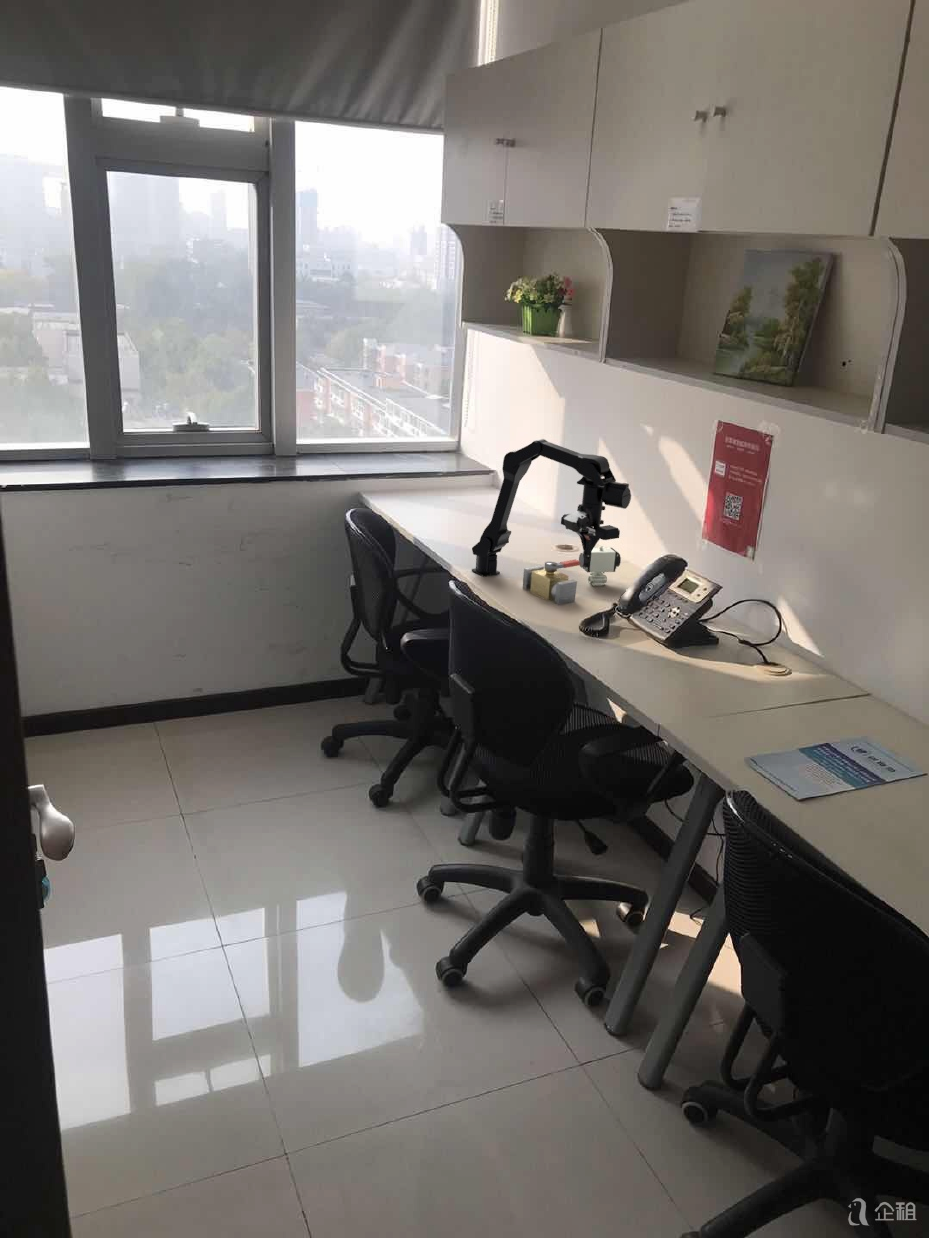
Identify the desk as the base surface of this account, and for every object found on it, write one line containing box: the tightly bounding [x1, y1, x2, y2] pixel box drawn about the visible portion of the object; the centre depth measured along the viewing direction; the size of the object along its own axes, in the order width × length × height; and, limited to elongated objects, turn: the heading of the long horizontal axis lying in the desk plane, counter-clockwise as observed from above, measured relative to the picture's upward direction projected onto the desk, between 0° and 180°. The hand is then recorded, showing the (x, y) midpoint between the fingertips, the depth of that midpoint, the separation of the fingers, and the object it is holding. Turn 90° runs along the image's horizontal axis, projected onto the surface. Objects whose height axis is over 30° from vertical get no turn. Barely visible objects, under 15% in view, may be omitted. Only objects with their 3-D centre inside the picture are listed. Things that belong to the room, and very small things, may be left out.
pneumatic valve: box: [578, 545, 622, 587], centre depth 294 cm, size 6×12×12 cm, turn 104°
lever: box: [544, 559, 580, 572], centre depth 284 cm, size 12×4×2 cm, turn 126°
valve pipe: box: [522, 565, 578, 606], centre depth 283 cm, size 16×7×7 cm, turn 36°
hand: (586, 555), depth 279 cm, fingers closed
